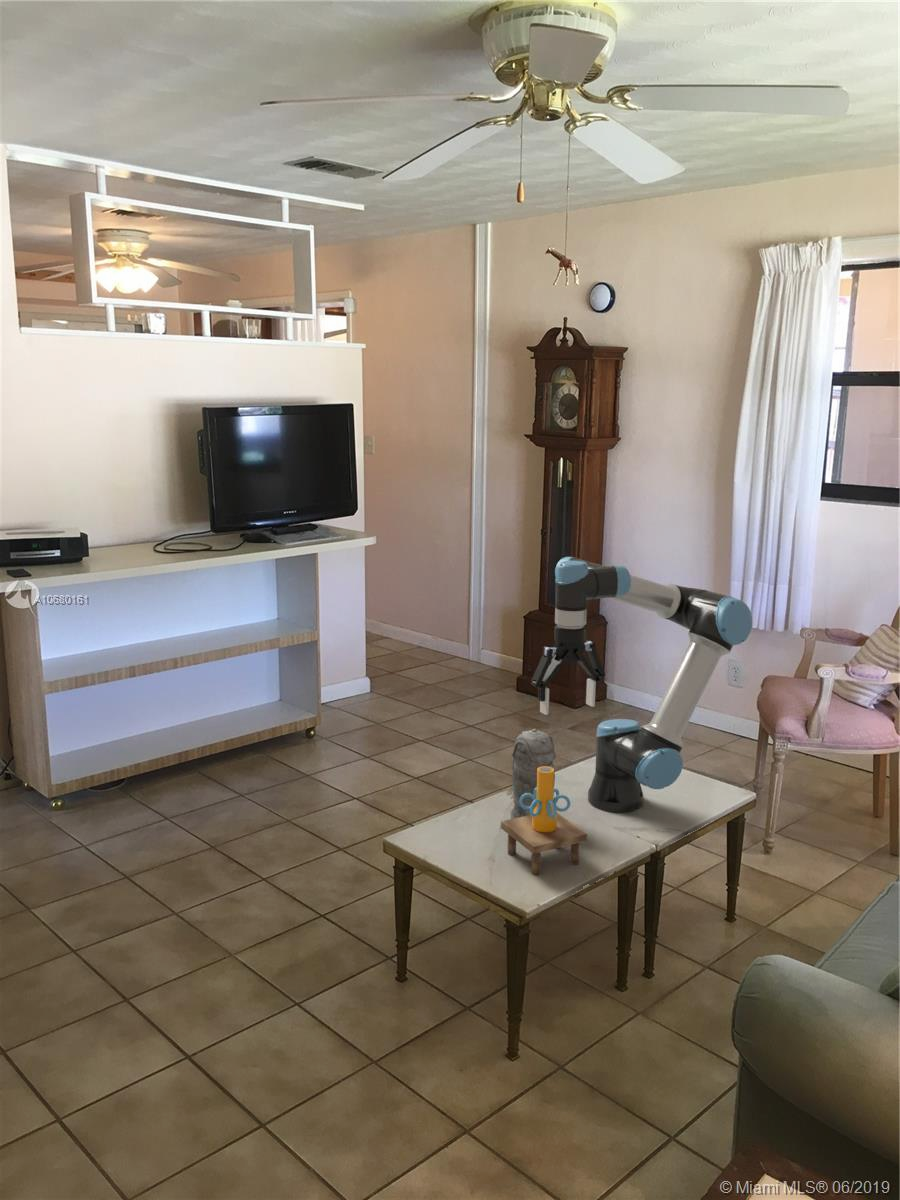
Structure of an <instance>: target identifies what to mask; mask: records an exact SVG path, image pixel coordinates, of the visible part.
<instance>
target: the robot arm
mask: <svg viewBox="0 0 900 1200" xmlns="http://www.w3.org/2000/svg"><path fill="white" fill-rule="evenodd" d="M554 576H555V599H554V600H555V601H554V603H555V606H554V607H555V608H554V609H555V611H554V624H555V625H554V633H553V634H554V635H553V636H554V637H553V638H554V646H553V647H548V646H546V645H545V646H544V647H543V648H542V655H541V658H540V660H539V662H538V665H537V667H536V670H535V671H534V674H533V675H532V678H531V680H530V685H531V686H534V687H536V688H537V700H538V701H539V712H540V713H541V714H543V715H545V716H548V715H549V713H550V712H549V711H550V710H549V709H550V707H549V705H550V688H548V686H549V685H550V683H551V681H553V678H554V677H555V676H556V674H557V672H559V669H560V668H562V667H563V666H564V665H568V664H571V663H573V664H575V663H576V664H577V662H578V664H579V665H580V666H581V668H582V669H583V670H584V672H585V673H586V675H587V676H588V677H589V678H587V679H586V692H585V693H586V694H585V695H586V696H585V704H586V705H588V706H590V707H592V708H593V707H595V706H596V693H597V692H598V691H599V690H598V688H599V687H598V686H599V682H601V680H602V678H604V677H605V676H606V671H605V669H604V667H603V665H602V663H601V660H600V658H599V654H598V653H597V648H596V647H597V646H596V643H595V642H593V641H591V640H586V637H587V636H586V635H587V634H586V633H587V632H586V631H587V628H586V626H585V625H587V609H588V601H589V600H597V599H598V600H599V599H610V600H613V601H617V602H621V603H622V604H623V603H624V604H628V605H630V606H635V607H637V608H640V609H644V610H648V611H650V612H655V613H656V615H658V617H659V618H662V619H665V620H668V621H671V622H673V623H675V624H677V625H679V626H681V627H683V628H685V629H688V630H689V631H688V633H687V635H688V637H689V640H690V642H689V644H688V646H687V649H686V650H685V652H684V654H683V656H682V659H681V661H680V663H679V665H678V666H677V668H676V671H675V672H674V675H673V676H672V679H671V681H670V682H669V684H668V686H667V689H666V690H665V693H664V695H663V696H662V698H661V700H660V702H659V705H658V707H657V708H656V710H655V712H654V714H653V717H652V718H651V721H650V722H649V723H647V724H643V725H642V726H641V724H640V722H638V721H637V720H635V719H634V720H633V719H628V718H627V719H625V718H616V719H615V718H613V719H607V720H604V721H602V722H600V723H599V724H598V725H597V729H596V735H595V738H596V743H595V744H596V746H595V747H596V749H595V750H596V751H595V771H594V775H593V779H592V782H591V784H590V787H589V789H588V792H587V801H588V802H589V804H590V805H592V806H593V807H595V808H597V809H599V810H603V811H607V812H612V813H613V812H614V813H627V812H633V811H637V810H638V809H640V808H641V807H642V806H643V804H644V793H643V789H642V786H645V787H648V788H649V789H652V790H662V789H663V790H664V789H665V788H667V787H670V786H671V785H673V784H674V783H675V782H676V780H678V778H679V776H680V775H681V773H682V770H683V767H684V764H683V762H684V761H683V757H682V755H681V751H682V749H683V747H684V745H683V743H682V736H683V735H684V734H683V733H684V732H685V730H686V728H687V726H688V724H689V722H690V720H691V718H692V715H693V713H694V712H695V709H696V707H697V706H698V704H699V701H700V700H701V698H702V696H703V693H704V691H705V690H706V688H707V685H708V684H709V681H710V679H711V677H712V675H713V673H714V672H715V669H716V667H717V665H718V663H719V661H720V659H721V657H722V656H725V655H728V654H730V653H731V651H732V648H733V647H734V646H736V645H737V646H738V645H741V644H742V643H745V641H746V640H747V639H748V637H749V636H750V634H751V633H752V628H753V616H752V615H751V614H752V612H751V609H750V607H749V606H748V604H746V602H744V601H742V600H741V599H738V598H736V597H733V596H731V595H726V594H722V593H717V592H713V591H709V590H706V589H703V588H694V587H687V586H681V585H677V584H675V583H667V584H661V583H658V582H655V581H651V580H648V579H645V578H641V577H639V576H635V575H632V574H630V572H629V570H628V569H627V568H626V567H625V566H623V565H611V566H608V565H607V566H605V565H603V564H599V563H594V562H591V561H589V560H588V561H587V560H583V559H580V558H578V557H576V556H575V557H574V556H565V557H562V558H560V560H559V561H558V562H557V563H556V567H555V569H554ZM585 651H586V653H587V654H586V655H588V658H589V661H590V663H591V664H590V663H589V661H588V660H587V658H586V656H584V652H585Z"/></svg>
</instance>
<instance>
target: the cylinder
mask: <svg viewBox="0 0 900 1200" xmlns="http://www.w3.org/2000/svg"><path fill="white" fill-rule="evenodd" d="M554 774H555V768H554V769H553V768H552V767H548V766H542V767H539V768H537V787H536V788H535V789H534V795H533V794H530V793H525V794H523V795H522V796H521V797H520V800H519V803H520V805H521V807H522V808H524V809H526V810H530V814H531V816H532V828H533V829H534V830H535V831H538V832H543V833H548V832H552V831H554V830H556V828H557V813H558V812H561V813H562V812H566V811H568V810H569V808H570V807H571V800H570V798H569V797H568V796H566V795H565V794H560V791H559V789H558V788H555V783H554ZM553 794H554V795H555V796H554V797H553ZM527 796H529V797H531V798H533V800H534V801H533V802H532V804H531V806H529V807H527V806H525V805H524V804H523V799H524V798H525V797H527ZM559 799H564V800H565V801H566V805H565V807H563V808H562V807H559V806H558V805H557V803H558V801H559ZM533 808H534V809H533Z"/></svg>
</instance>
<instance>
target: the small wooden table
mask: <svg viewBox="0 0 900 1200" xmlns="http://www.w3.org/2000/svg"><path fill="white" fill-rule="evenodd" d="M500 829H502V830H503V831H504V832H505V833H506V834H507V854H508V855H509V856H515V855H516V854H517V842H518V843H519V844H520V845H521V846H523V848H525V849H527V850H528V851H529V852H530V853H531V875H534V876H539V875H540V874H541V856H542V855H541V854H542V853H543V852H548V851H552V850H557V849H559V848H560V849H561V848H564V847H567V846H570V858H569V859H570V864H571V865H574V866H575V865H579V863H580V860H579V859H580V843H584V842H588V833H587V832H586V831H584V830H582V829H581V828H580V827H578V826H577V825H575V824H574V823H572V822H571V821H569V820H568V819H567V818H565V817H564V816H563V815H561V814H560V813H558V812H557V828H556V830H554V831H552V832H548V833H543V832H538V831H535V830H534V829H533V828H532V816H531V815H528V816H523V817H519V818H515V819H511V818H510V819H506V820H502V821H500Z"/></svg>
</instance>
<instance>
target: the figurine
mask: <svg viewBox="0 0 900 1200" xmlns="http://www.w3.org/2000/svg"><path fill="white" fill-rule="evenodd" d="M511 756H512V757H513V759H512V762H511V763H512V765H511V766H512V768H511V769H512V773H511V774H512V777H511V780H512V781H511V782H512V786H511V791H512V793H513V804H514V805H513V807H512V809H511V810H510V815H509V816H510V819H515V818H519V817H523V816H528V815H531V814H530V810H526V809H524V808H522V807H521V805H520V803H519V800H520V797H521V796H522V795H523V794H525V793H530V794H533V795H534V789H535V788H536V787H537V768H539V767H542V766H548V767H552V768H553V769H554V770H555V767H554V764H553V761H554V760H555V759H556V756H557V755H556V753H555V744H554V741H553V738H552V736H551V735H549V734H547V733H546V732H544V731H541V730H537V729H536V728H533V729H532V730H531V729H530V730H526V731H525V730H523V731H522V732H521V733H519V735H518V736H517V738H516V740H515V744H514V747H513V750H512V753H511ZM555 779H556V774H555V773H554V784H555ZM554 795H555V793H554V794H553V798H555V796H554ZM533 801H534V800H533V798H531V797H529V796H527V797H525V798H524V799H523V804H524V805H525V806H527V807H529V806H531V804H532V802H533ZM533 809H534V808H533Z"/></svg>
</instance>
